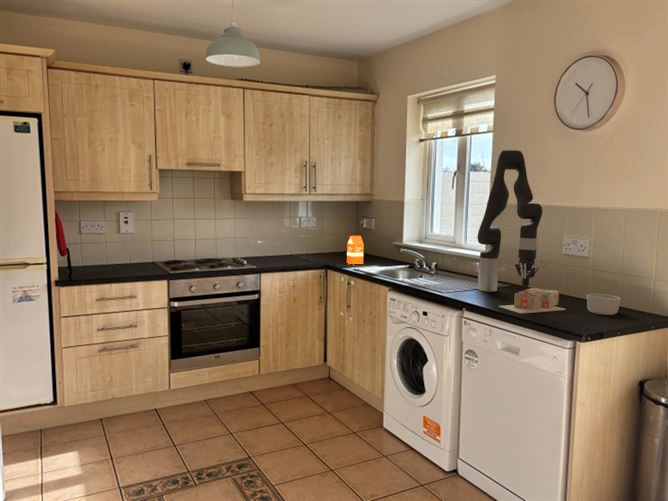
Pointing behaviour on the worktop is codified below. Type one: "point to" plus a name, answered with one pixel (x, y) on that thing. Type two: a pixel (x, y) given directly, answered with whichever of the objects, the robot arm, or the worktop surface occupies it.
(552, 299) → the stack of blocks
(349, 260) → the orange juice
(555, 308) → the mat
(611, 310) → the ramekin
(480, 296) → the worktop surface
